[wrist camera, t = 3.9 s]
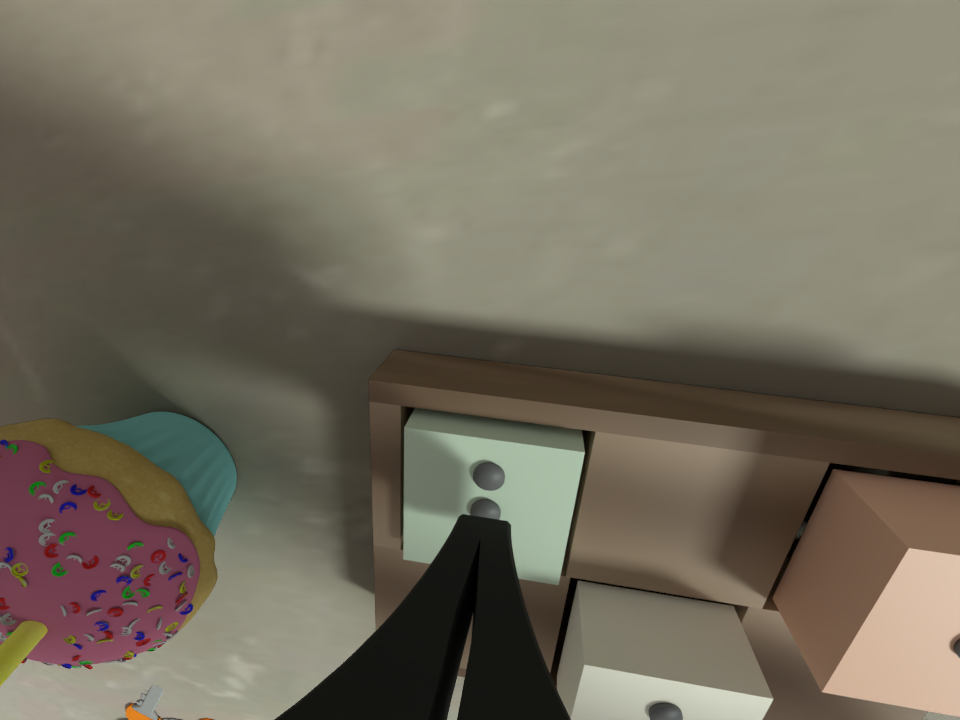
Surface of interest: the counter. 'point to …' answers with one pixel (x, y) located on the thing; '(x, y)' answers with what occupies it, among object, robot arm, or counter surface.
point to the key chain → (147, 706)
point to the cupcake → (106, 535)
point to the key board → (661, 493)
